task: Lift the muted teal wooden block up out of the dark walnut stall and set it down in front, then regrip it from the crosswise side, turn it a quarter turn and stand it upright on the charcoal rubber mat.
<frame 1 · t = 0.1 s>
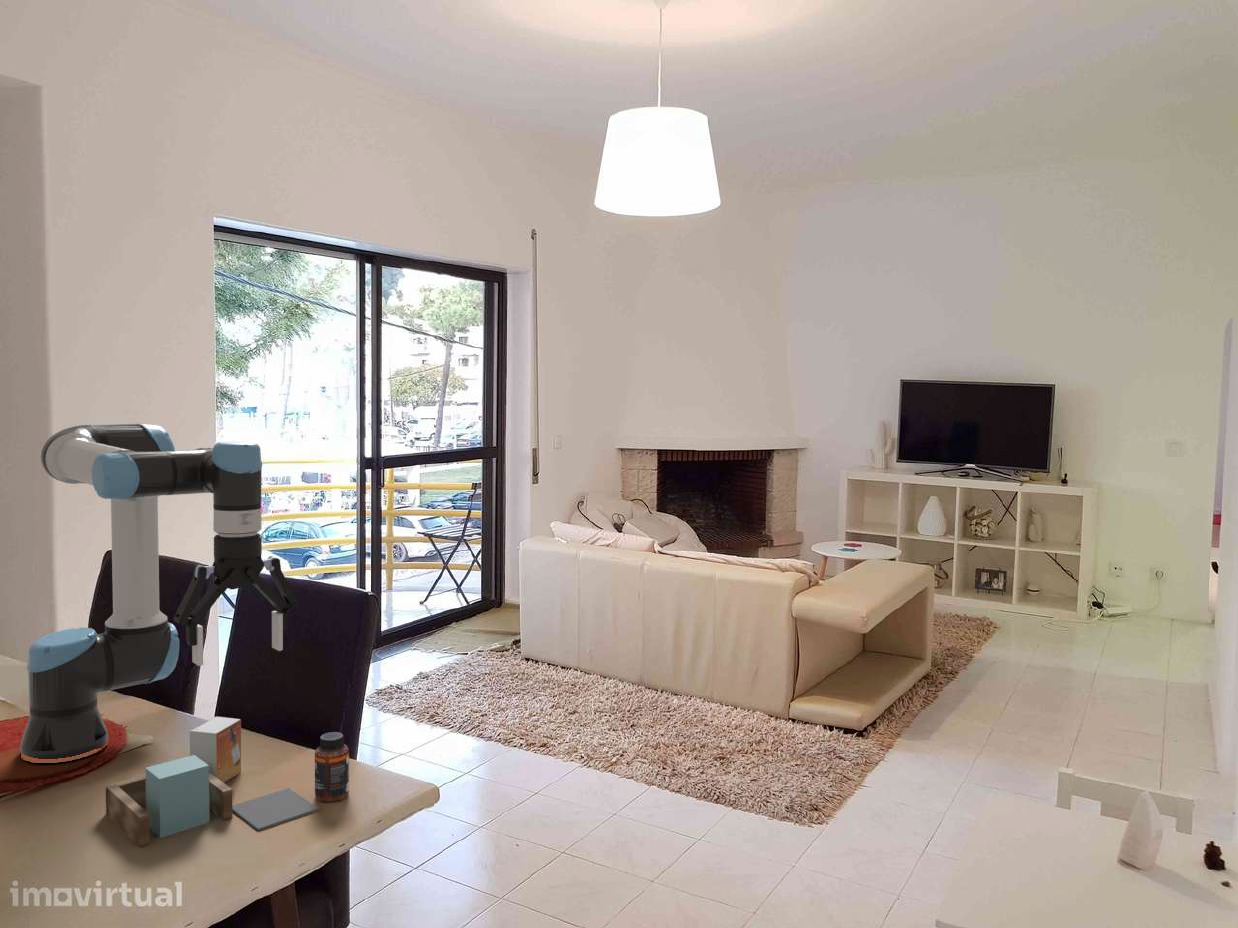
hand: (238, 656, 160), 28 cm above the table, tool pointing down, fingers open, 13 cm apart
small box: (216, 779, 175), on the table
stall: (173, 819, 159), on the table
block: (178, 823, 158), on the table
supplement bottle: (331, 797, 170), on the table
mat: (274, 809, 164), on the table
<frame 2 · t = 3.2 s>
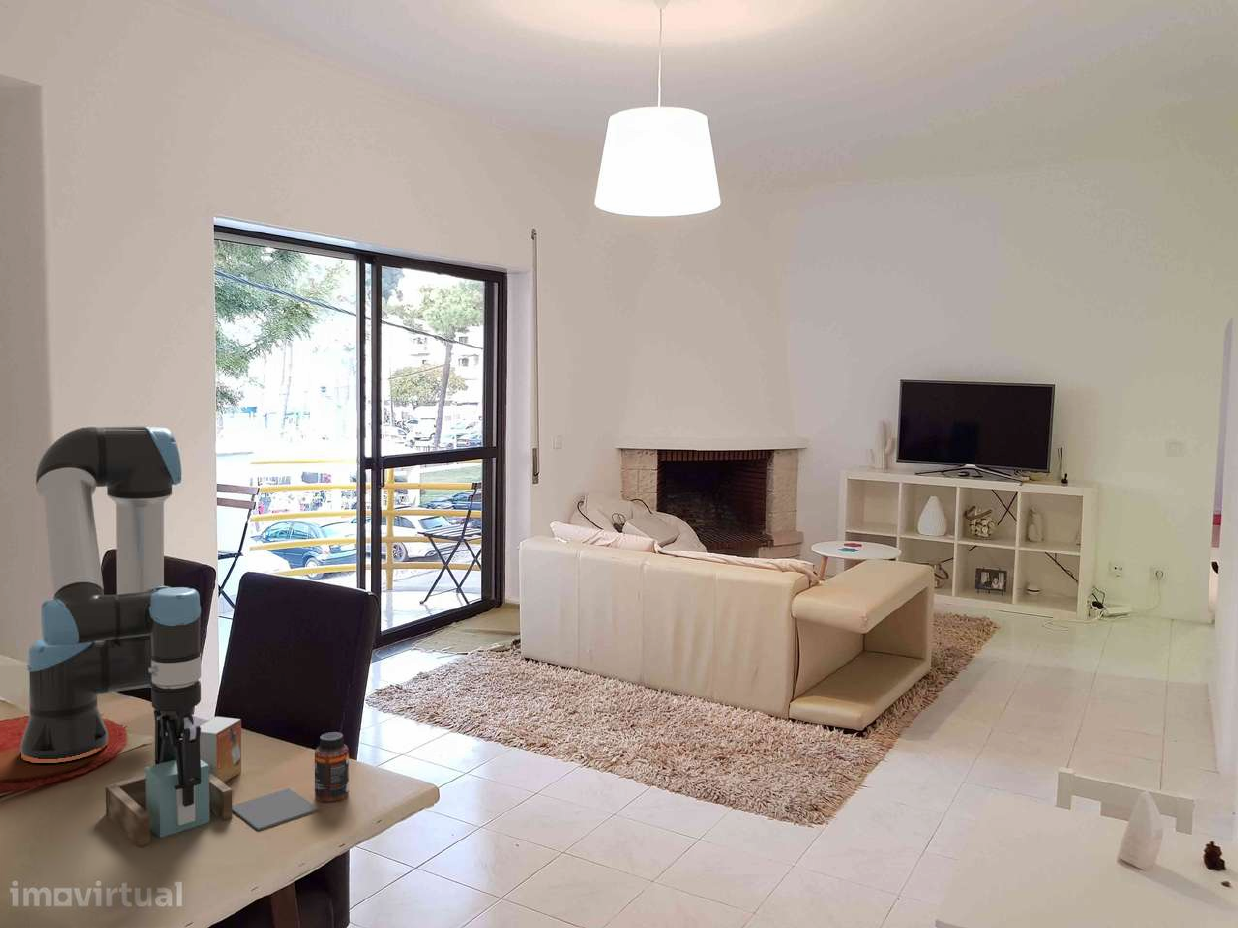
hand: (178, 815, 158), 1 cm above the table, tool pointing down, fingers closed on block, 6 cm apart
block: (178, 823, 158), on the table, touching gripper
everything else where it was.
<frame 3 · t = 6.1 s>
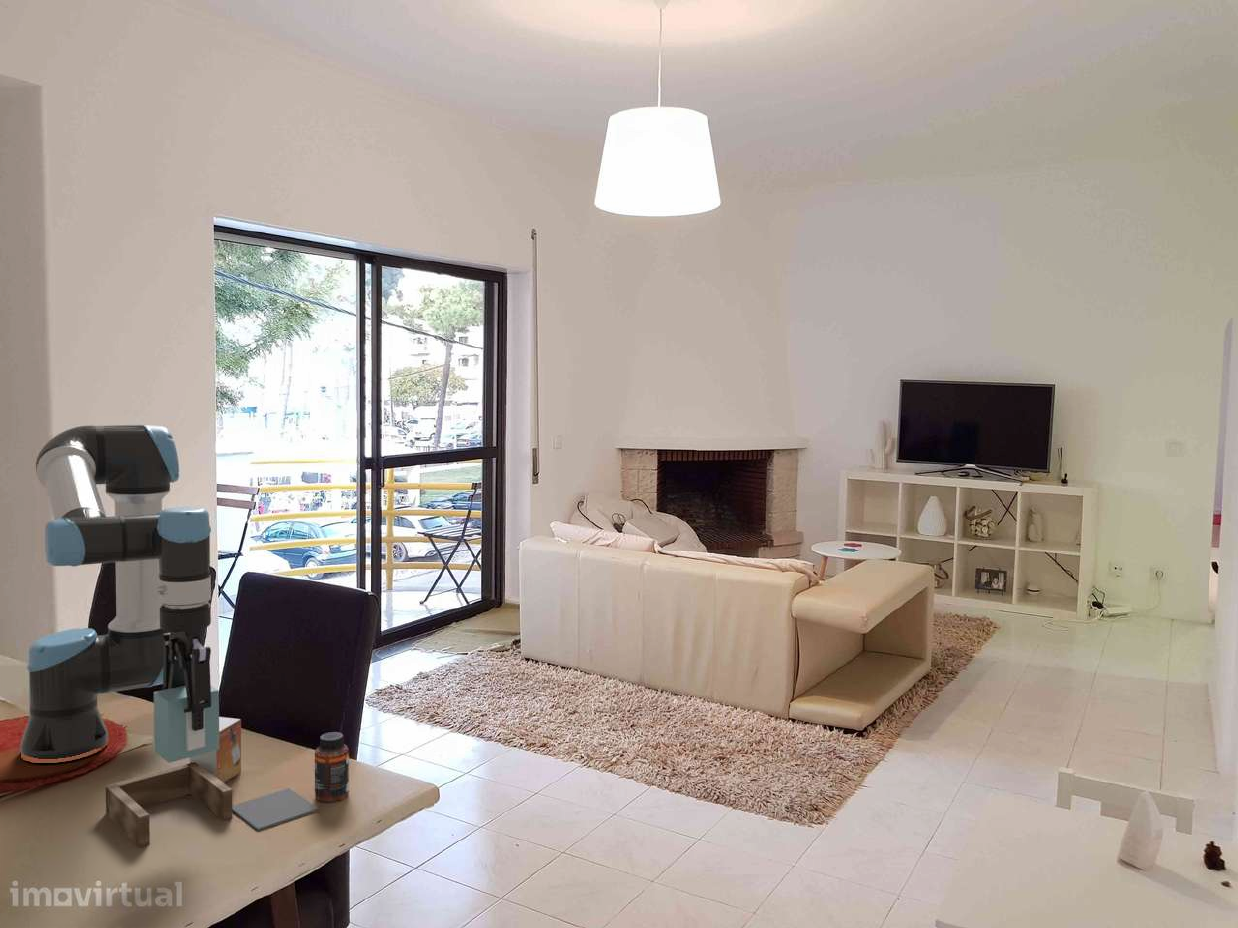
hand: (187, 741, 153), 16 cm above the table, tool pointing down, fingers closed on block, 6 cm apart
block: (187, 750, 153), point 14 cm above the table, touching gripper
everything else where it was.
when the fingers open (3 cm above the table, at t = 9.3 s): block drops 1 cm, on the table.
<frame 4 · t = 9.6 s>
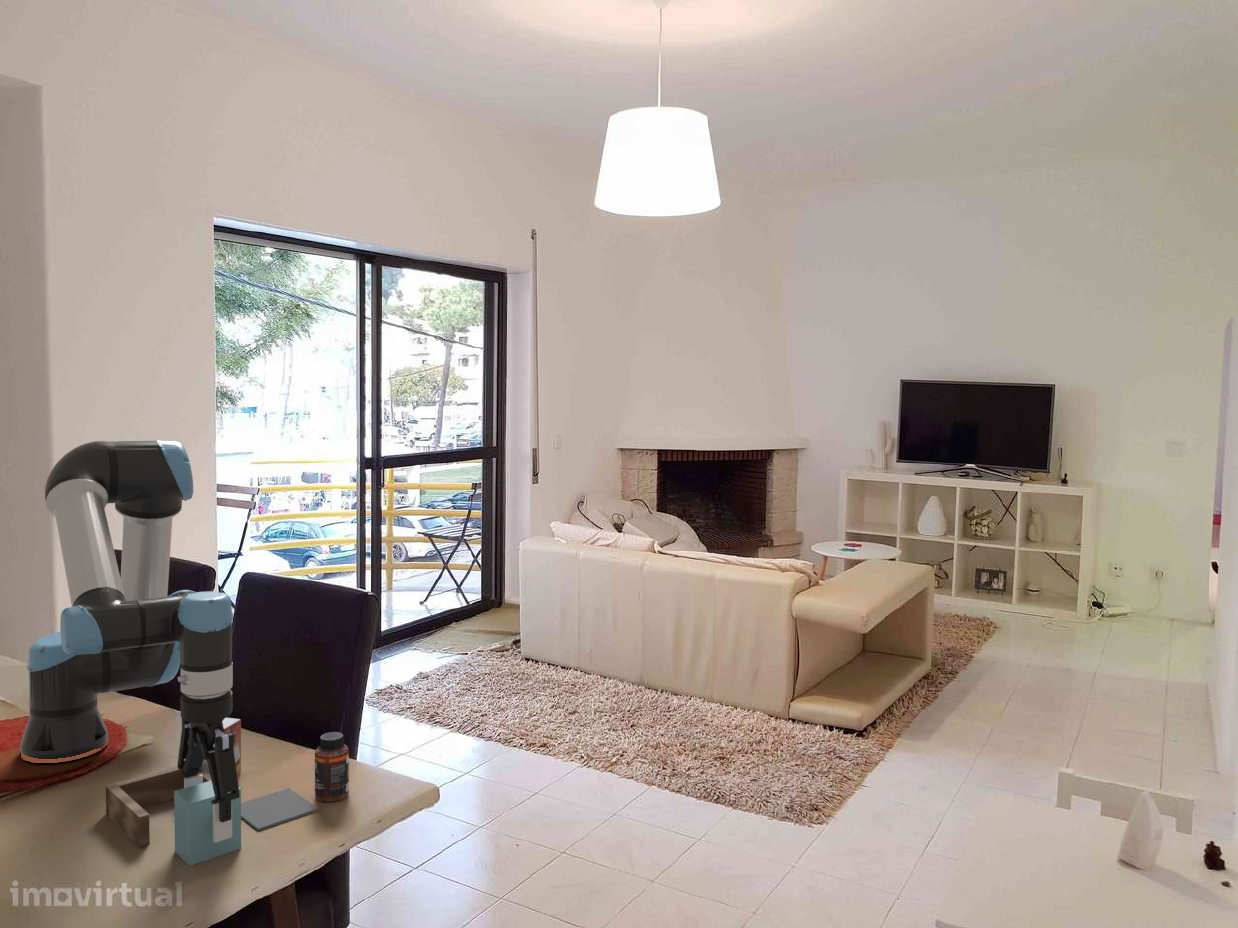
hand: (207, 826, 149), 4 cm above the table, tool pointing down, fingers open, 10 cm apart
block: (208, 849, 149), on the table
everything else where it was.
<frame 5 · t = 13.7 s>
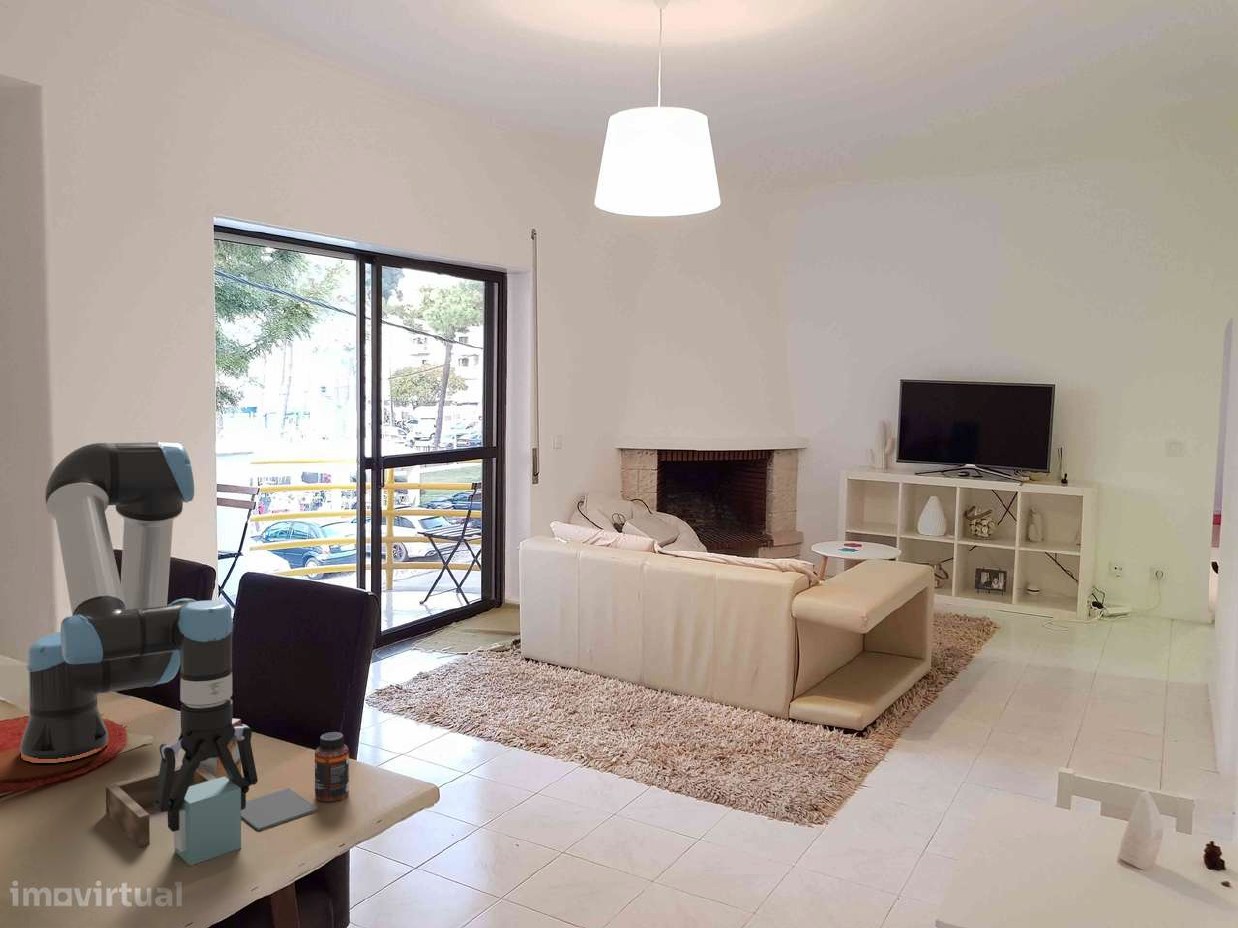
hand: (208, 838, 149), 2 cm above the table, tool pointing down, fingers closed on block, 8 cm apart
block: (208, 849, 149), on the table, touching gripper
everything else where it was.
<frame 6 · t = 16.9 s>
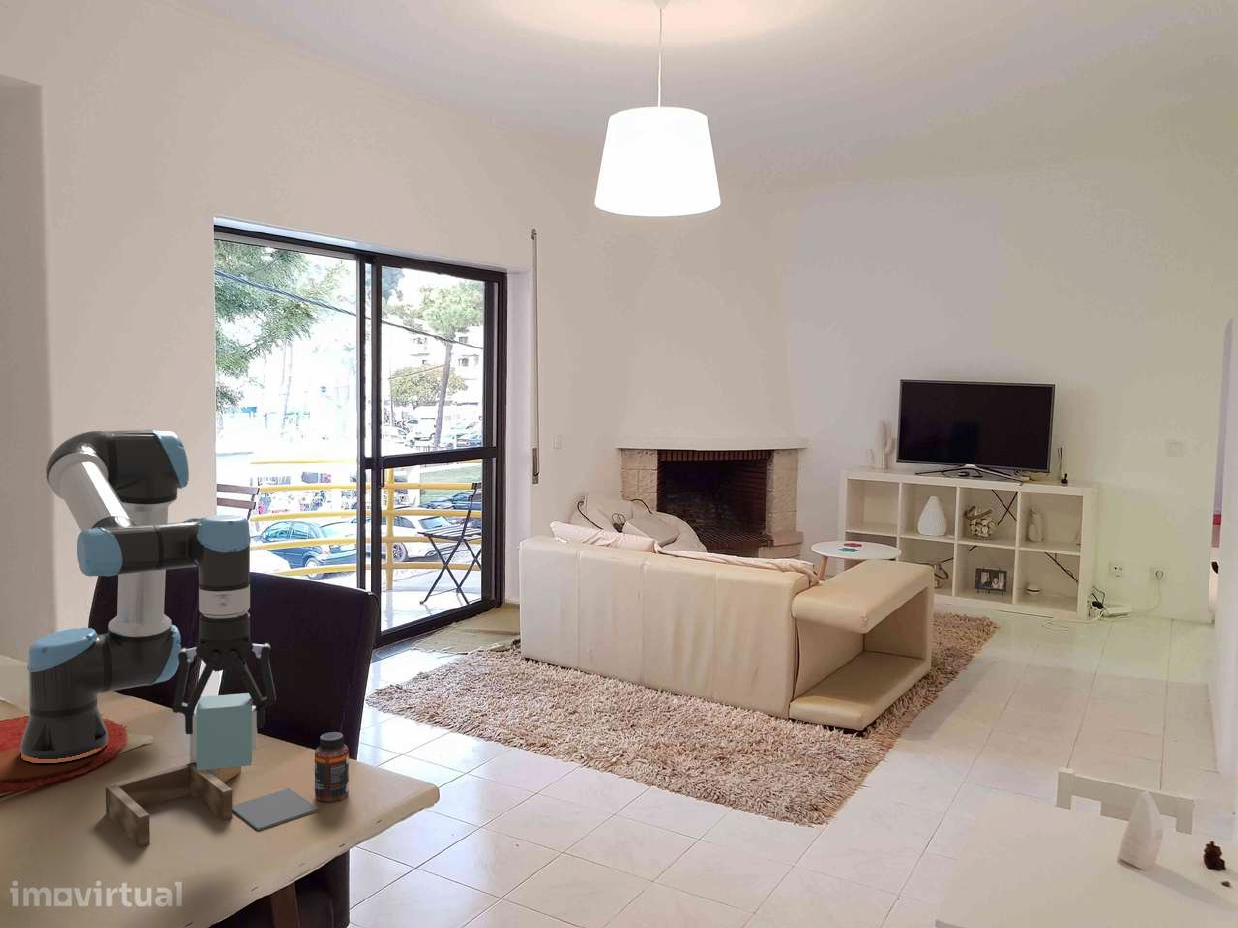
hand: (225, 749, 152), 15 cm above the table, tool pointing down, fingers closed on block, 8 cm apart
block: (225, 760, 152), point 13 cm above the table, touching gripper
everything else where it was.
when the fingers open (3 cm above the table, at t = 20.4 s): block stays where it is, resting on mat.
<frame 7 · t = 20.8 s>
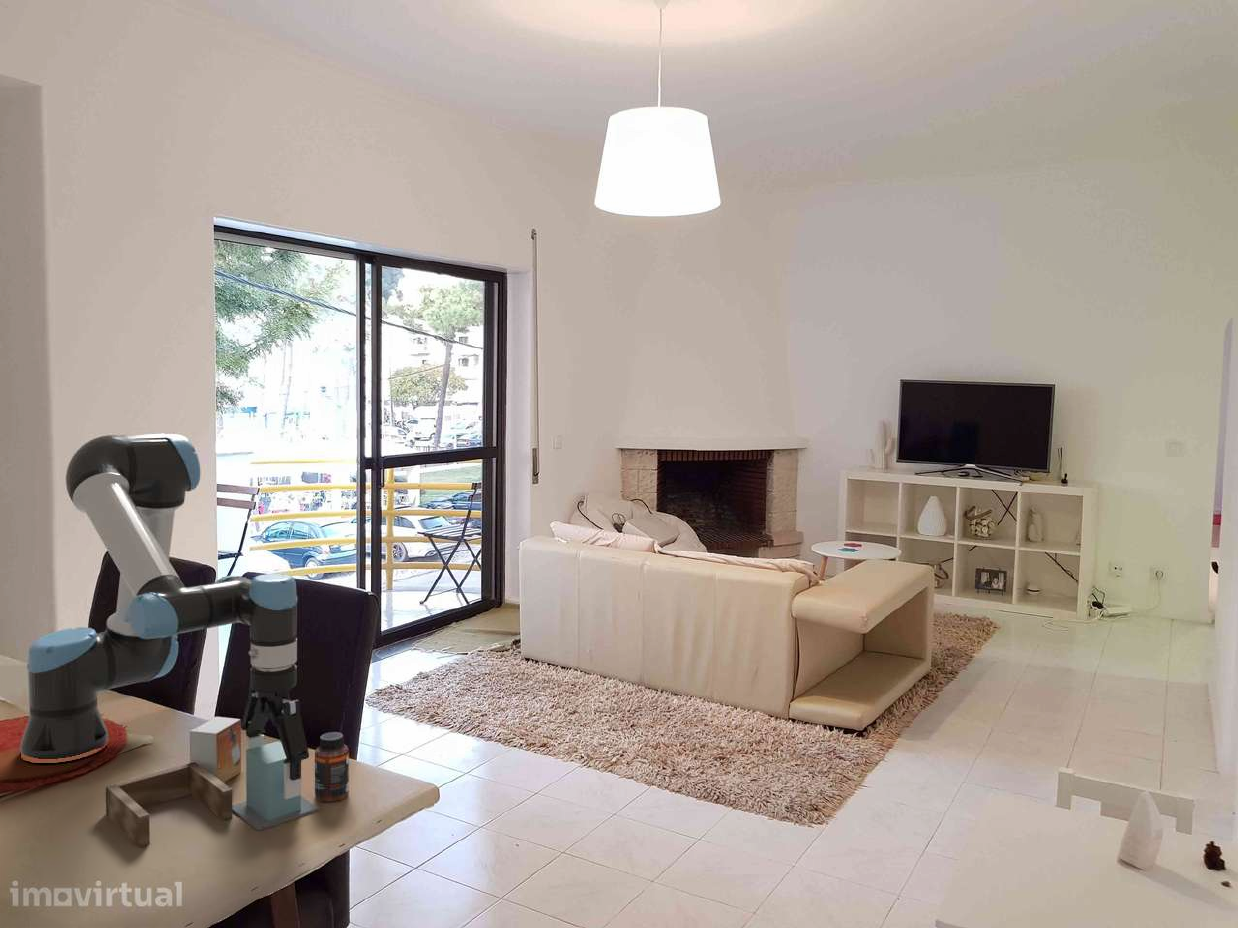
hand: (274, 783, 163), 5 cm above the table, tool pointing down, fingers open, 13 cm apart
block: (273, 807, 164), resting on mat
everything else where it was.
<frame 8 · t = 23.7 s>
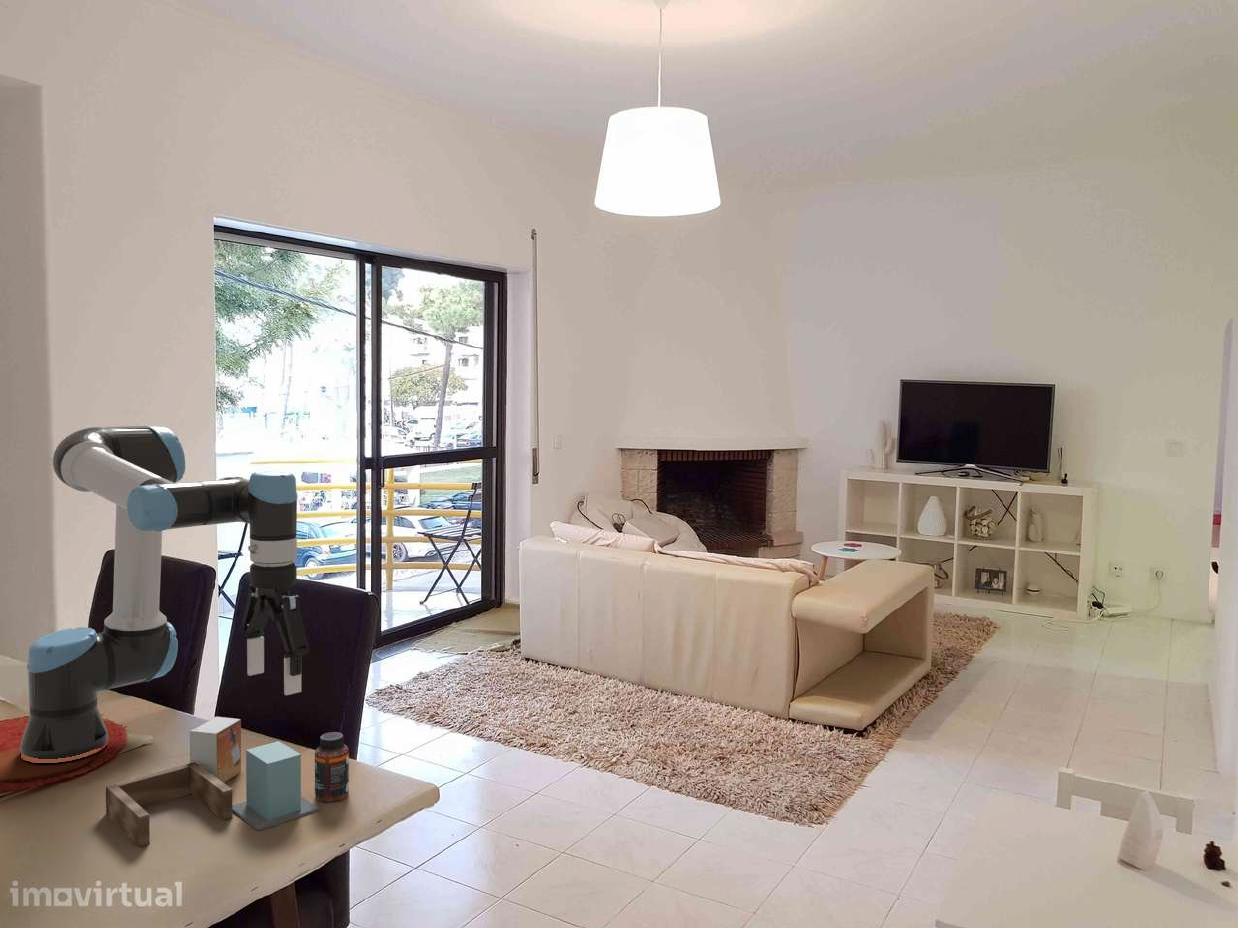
hand: (273, 683, 162), 23 cm above the table, tool pointing down, fingers open, 13 cm apart
nothing on the table moved.
at the end: block inside the target area (0.1 cm from its centre), resting on mat; block tilted 0°; the gripper is holding nothing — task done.
